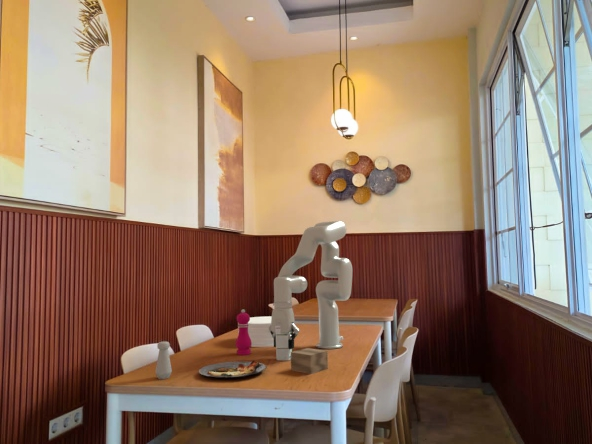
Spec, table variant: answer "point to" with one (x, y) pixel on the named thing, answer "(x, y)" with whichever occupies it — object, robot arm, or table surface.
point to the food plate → (233, 369)
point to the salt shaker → (163, 361)
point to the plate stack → (260, 332)
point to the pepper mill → (243, 334)
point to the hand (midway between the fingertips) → (283, 347)
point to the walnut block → (309, 360)
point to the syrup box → (282, 345)
